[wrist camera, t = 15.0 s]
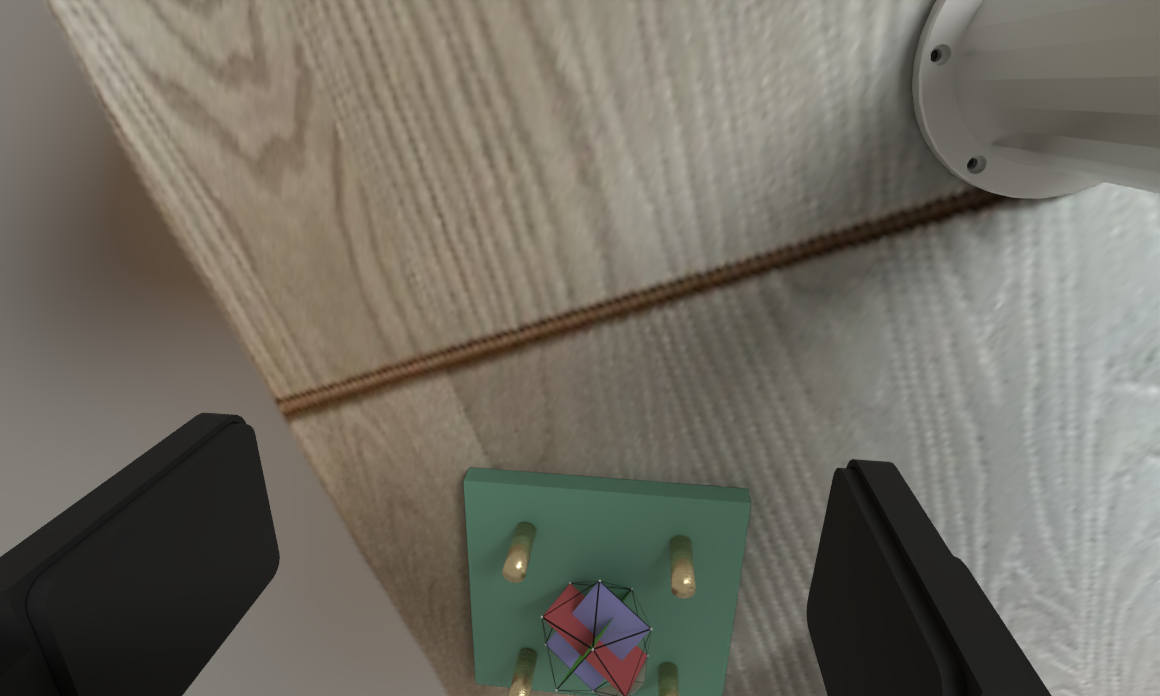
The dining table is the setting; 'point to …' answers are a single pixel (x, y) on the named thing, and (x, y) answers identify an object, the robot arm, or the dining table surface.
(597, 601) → the geometric puzzle
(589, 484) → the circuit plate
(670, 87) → the dining table surface
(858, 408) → the dining table surface
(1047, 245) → the dining table surface
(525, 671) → the brass standoffs
